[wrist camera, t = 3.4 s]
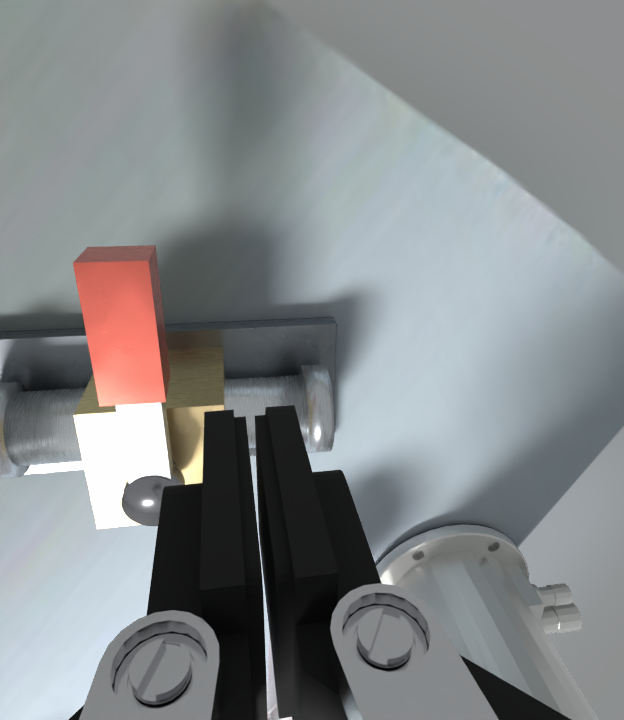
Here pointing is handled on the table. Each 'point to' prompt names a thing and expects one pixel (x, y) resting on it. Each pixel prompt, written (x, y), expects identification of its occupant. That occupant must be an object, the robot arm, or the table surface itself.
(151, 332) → the valve lever
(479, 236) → the table surface
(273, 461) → the robot arm
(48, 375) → the valve
